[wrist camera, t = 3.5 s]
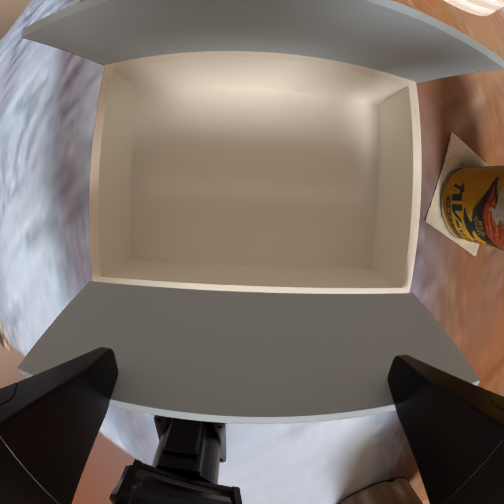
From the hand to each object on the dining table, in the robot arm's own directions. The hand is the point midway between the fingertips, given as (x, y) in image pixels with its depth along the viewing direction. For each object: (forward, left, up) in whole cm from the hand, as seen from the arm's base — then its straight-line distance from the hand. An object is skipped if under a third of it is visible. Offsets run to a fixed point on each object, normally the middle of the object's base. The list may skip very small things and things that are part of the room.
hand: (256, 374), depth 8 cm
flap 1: (+12, 0, -3) cm, 12 cm away
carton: (+7, 0, -12) cm, 13 cm away
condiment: (+7, -18, -12) cm, 23 cm away
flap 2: (0, 0, -2) cm, 2 cm away
